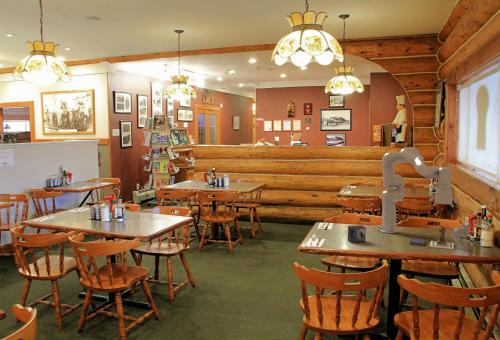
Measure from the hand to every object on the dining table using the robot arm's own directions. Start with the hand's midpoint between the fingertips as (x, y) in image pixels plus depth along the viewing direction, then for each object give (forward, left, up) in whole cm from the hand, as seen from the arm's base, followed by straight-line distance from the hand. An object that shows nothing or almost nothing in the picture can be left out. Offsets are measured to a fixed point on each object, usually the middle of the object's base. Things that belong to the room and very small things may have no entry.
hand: (443, 212), depth 275 cm
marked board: (0, 0, -22) cm, 22 cm away
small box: (-53, -13, -22) cm, 59 cm away
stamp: (0, 0, -21) cm, 21 cm away
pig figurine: (+13, +31, -22) cm, 40 cm away
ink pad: (-15, 0, -22) cm, 27 cm away
